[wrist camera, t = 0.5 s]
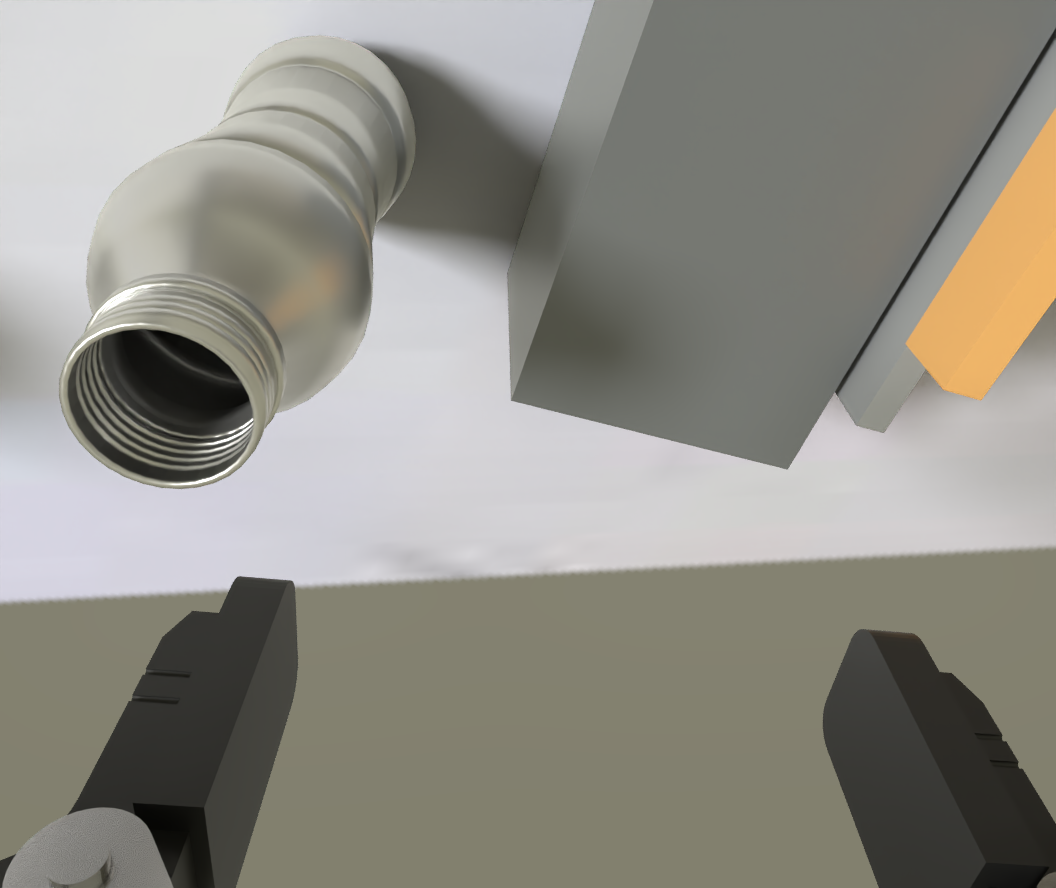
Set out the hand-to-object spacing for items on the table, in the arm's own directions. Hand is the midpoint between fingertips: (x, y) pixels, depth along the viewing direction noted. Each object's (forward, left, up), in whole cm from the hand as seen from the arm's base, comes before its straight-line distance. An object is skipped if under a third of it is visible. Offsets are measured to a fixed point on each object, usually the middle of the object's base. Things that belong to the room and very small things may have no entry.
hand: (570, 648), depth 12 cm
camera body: (-6, +6, -25) cm, 26 cm away
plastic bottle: (+1, -7, -25) cm, 26 cm away
